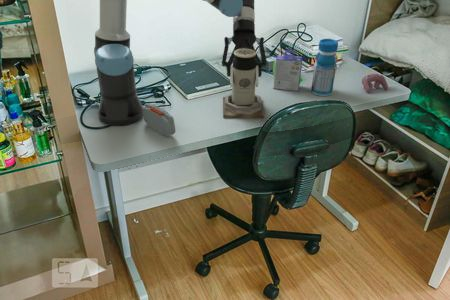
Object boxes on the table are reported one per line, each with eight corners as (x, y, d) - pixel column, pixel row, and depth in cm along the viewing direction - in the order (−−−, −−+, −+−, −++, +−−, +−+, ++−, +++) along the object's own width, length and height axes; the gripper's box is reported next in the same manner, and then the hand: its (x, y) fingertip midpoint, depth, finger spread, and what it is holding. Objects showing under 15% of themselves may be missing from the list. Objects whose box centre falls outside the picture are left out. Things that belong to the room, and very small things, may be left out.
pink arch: (382, 90, 177) (380, 72, 176) (389, 89, 172) (388, 71, 171) (360, 93, 174) (359, 75, 173) (368, 93, 169) (366, 74, 168)
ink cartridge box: (299, 85, 175) (303, 50, 168) (298, 91, 171) (302, 55, 163) (274, 83, 177) (277, 48, 169) (273, 89, 172) (275, 53, 165)
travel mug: (234, 94, 161) (235, 47, 151) (255, 97, 160) (258, 49, 150) (229, 104, 154) (230, 55, 145) (252, 107, 153) (255, 57, 143)
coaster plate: (223, 117, 153) (223, 108, 151) (222, 99, 164) (223, 90, 162) (263, 117, 153) (264, 108, 151) (260, 99, 164) (261, 91, 163)
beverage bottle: (318, 98, 166) (325, 46, 155) (306, 89, 173) (312, 39, 162) (337, 94, 169) (345, 43, 158) (324, 85, 175) (331, 36, 165)
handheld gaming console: (176, 137, 141) (175, 115, 137) (169, 140, 140) (168, 118, 135) (149, 121, 150) (147, 100, 145) (141, 124, 148) (139, 102, 144)
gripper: (272, 28, 158) (273, 89, 154) (214, 28, 158) (213, 88, 154) (274, 18, 151) (276, 81, 146) (213, 17, 151) (213, 81, 146)
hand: (244, 85), depth 150 cm, fingers closed on travel mug, 8 cm apart
